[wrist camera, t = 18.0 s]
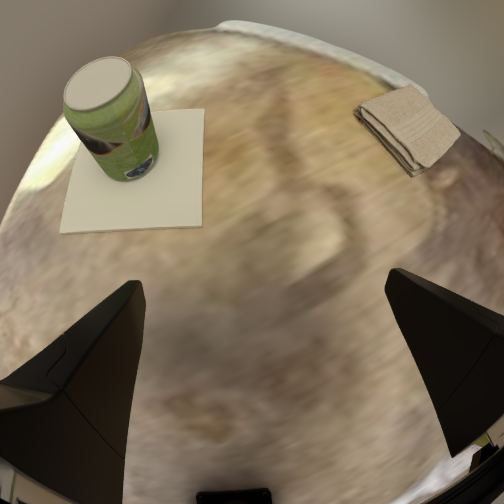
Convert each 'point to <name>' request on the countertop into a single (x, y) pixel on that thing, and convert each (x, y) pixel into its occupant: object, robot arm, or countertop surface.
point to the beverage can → (112, 117)
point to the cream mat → (142, 184)
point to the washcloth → (408, 128)
